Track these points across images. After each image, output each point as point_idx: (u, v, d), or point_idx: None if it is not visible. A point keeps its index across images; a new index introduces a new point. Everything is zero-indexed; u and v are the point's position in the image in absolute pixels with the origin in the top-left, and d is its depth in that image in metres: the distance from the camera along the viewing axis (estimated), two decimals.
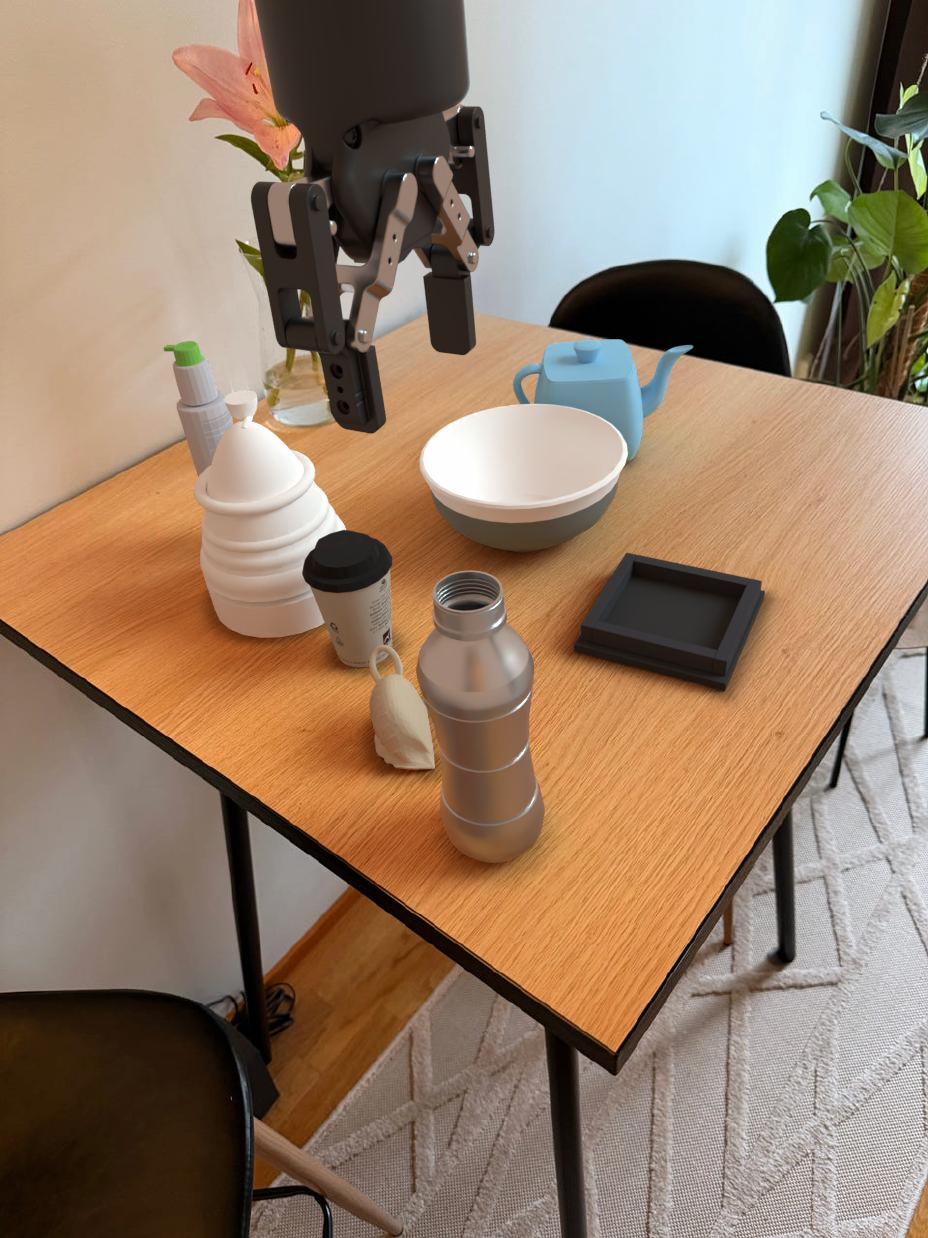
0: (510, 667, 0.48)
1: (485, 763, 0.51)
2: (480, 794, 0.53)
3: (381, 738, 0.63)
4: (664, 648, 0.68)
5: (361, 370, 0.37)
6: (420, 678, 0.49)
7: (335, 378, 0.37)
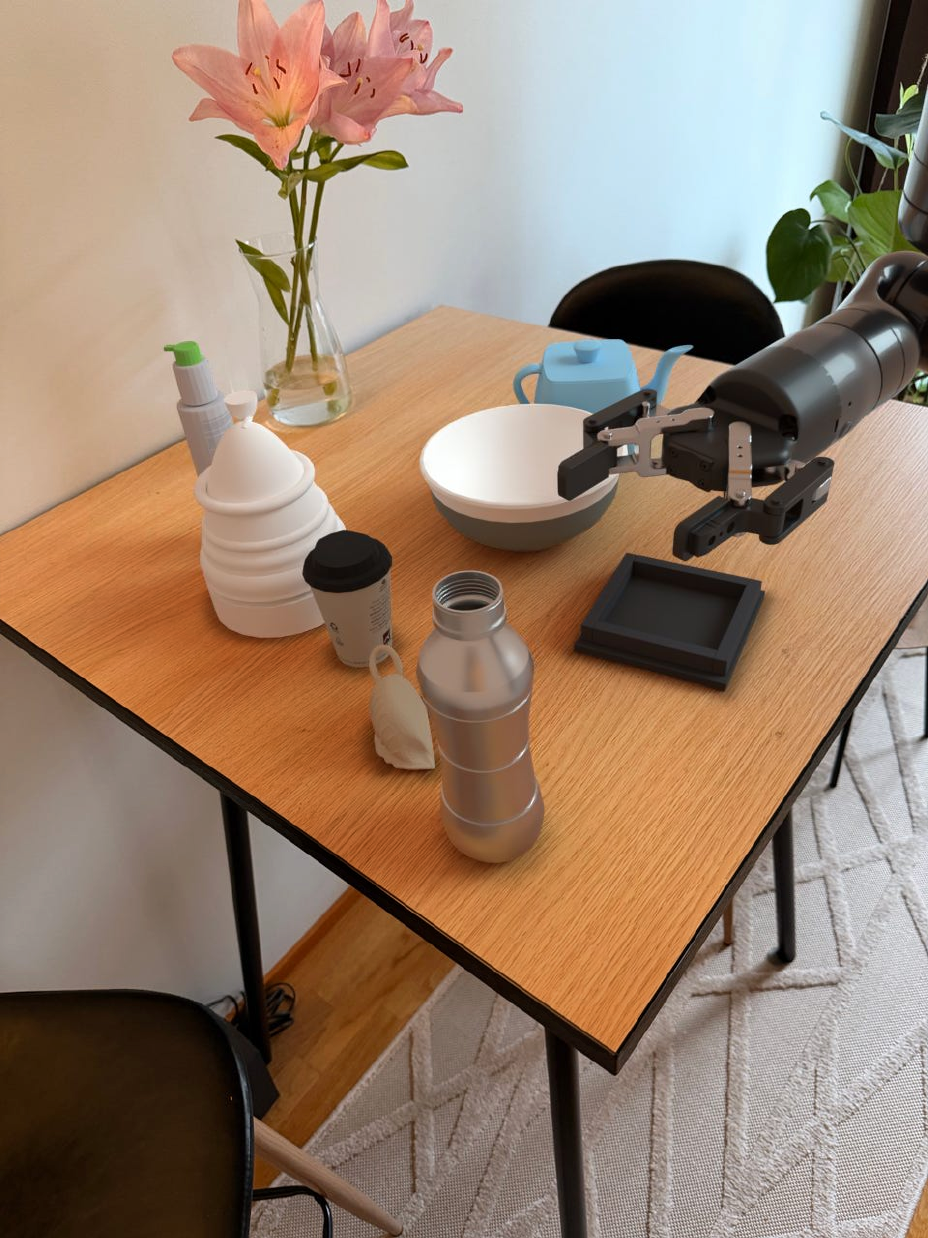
0: (510, 667, 0.48)
1: (485, 763, 0.51)
2: (480, 794, 0.53)
3: (381, 738, 0.63)
4: (664, 648, 0.68)
5: None
6: (420, 678, 0.49)
7: None
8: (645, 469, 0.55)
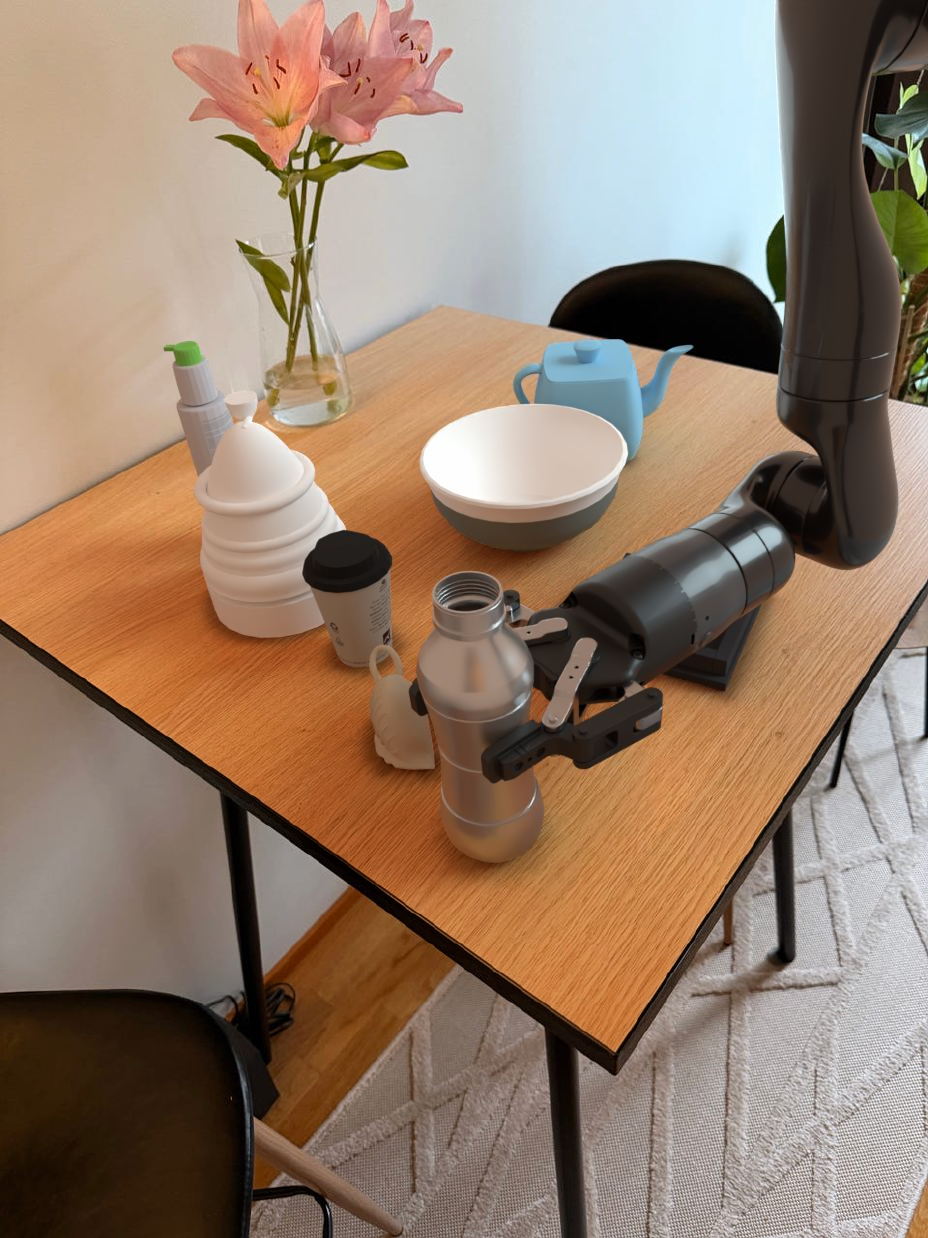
0: (510, 667, 0.48)
1: None
2: (480, 794, 0.53)
3: (381, 738, 0.63)
4: None
5: None
6: (420, 678, 0.49)
7: None
8: None
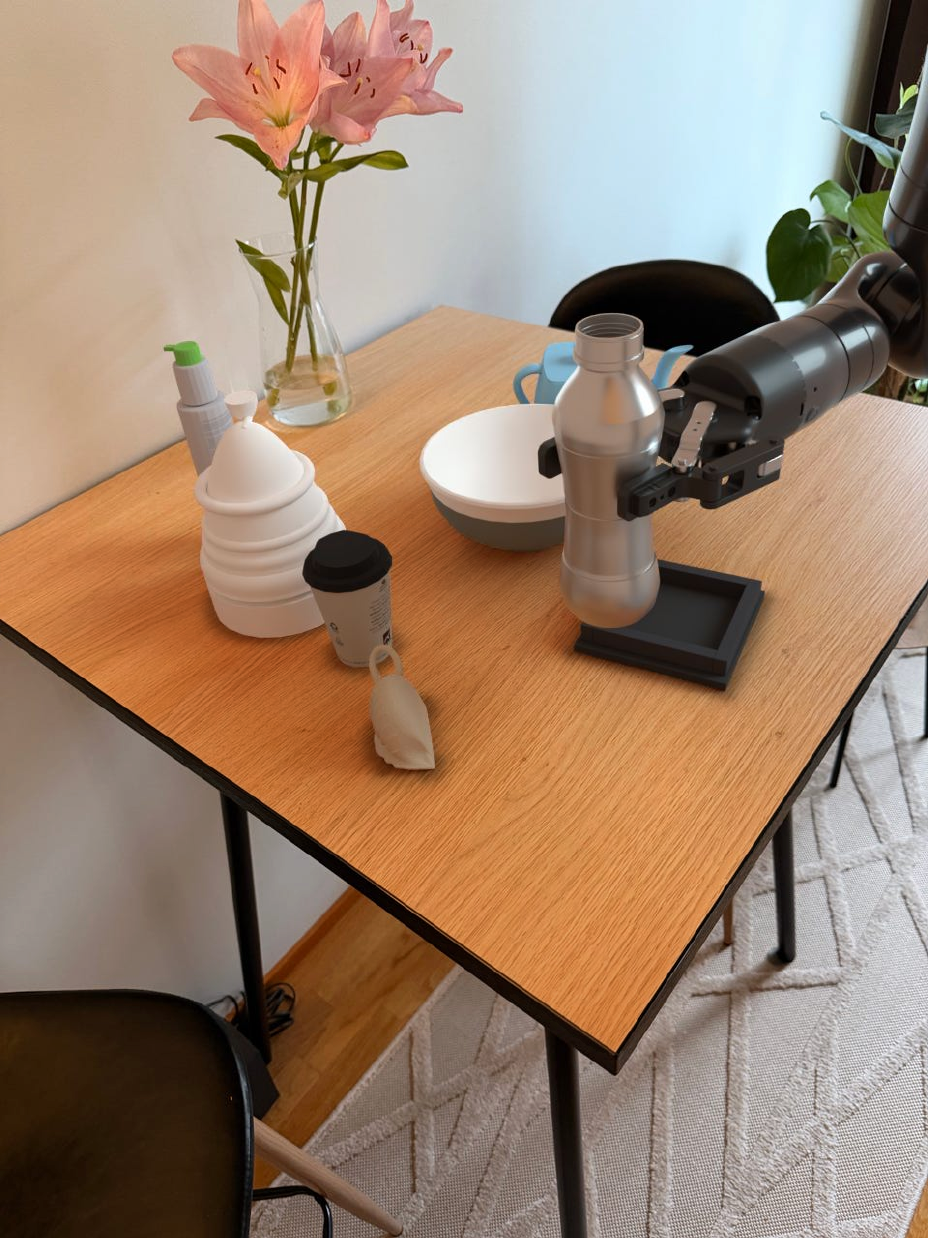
0: (647, 402, 0.51)
1: (616, 509, 0.54)
2: (607, 546, 0.56)
3: (381, 738, 0.63)
4: (664, 648, 0.68)
5: None
6: (558, 421, 0.52)
7: None
8: None
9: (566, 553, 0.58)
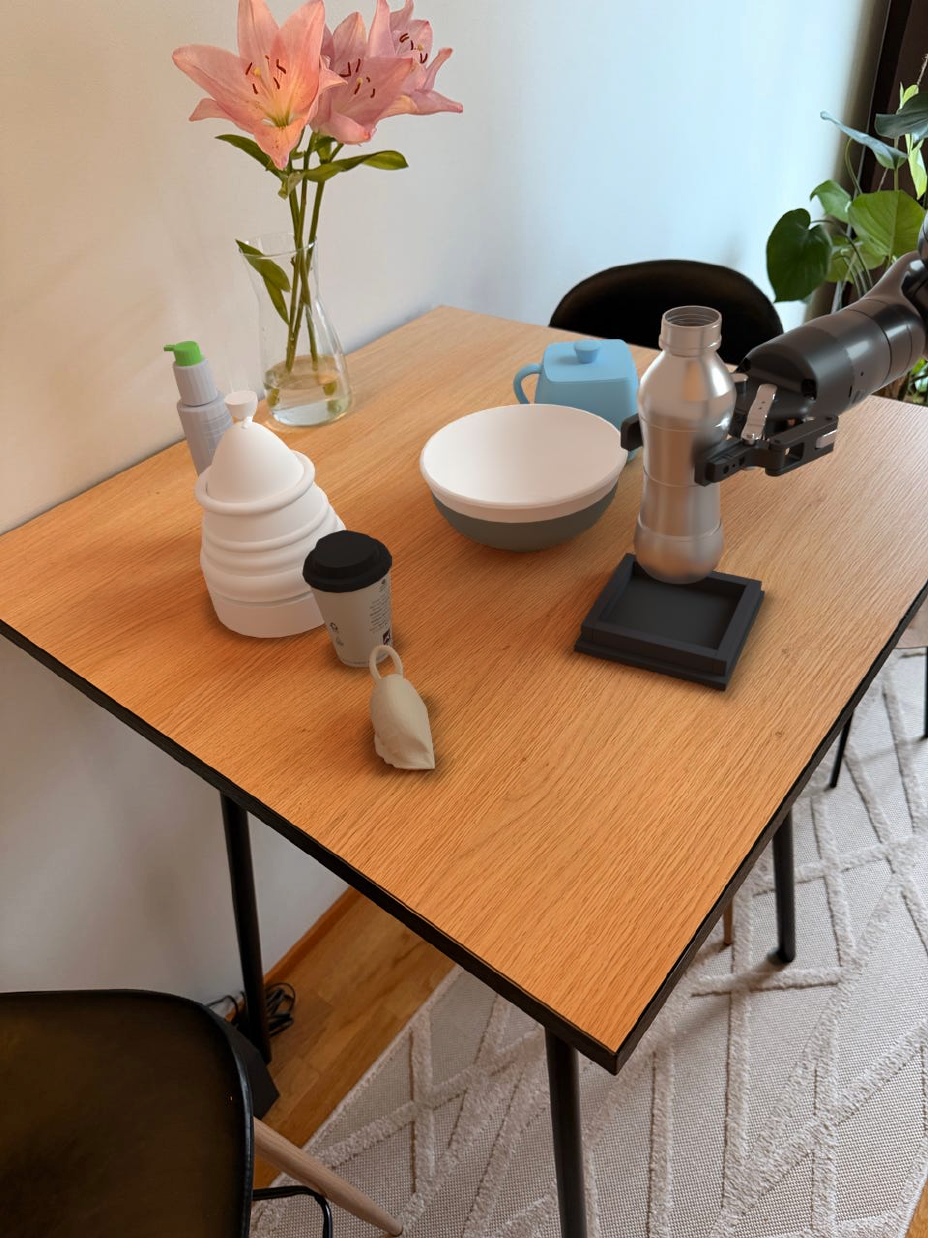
0: (723, 383, 0.59)
1: (691, 476, 0.62)
2: (682, 510, 0.64)
3: (381, 738, 0.63)
4: (664, 648, 0.68)
5: None
6: (644, 399, 0.60)
7: None
8: None
9: (643, 517, 0.66)
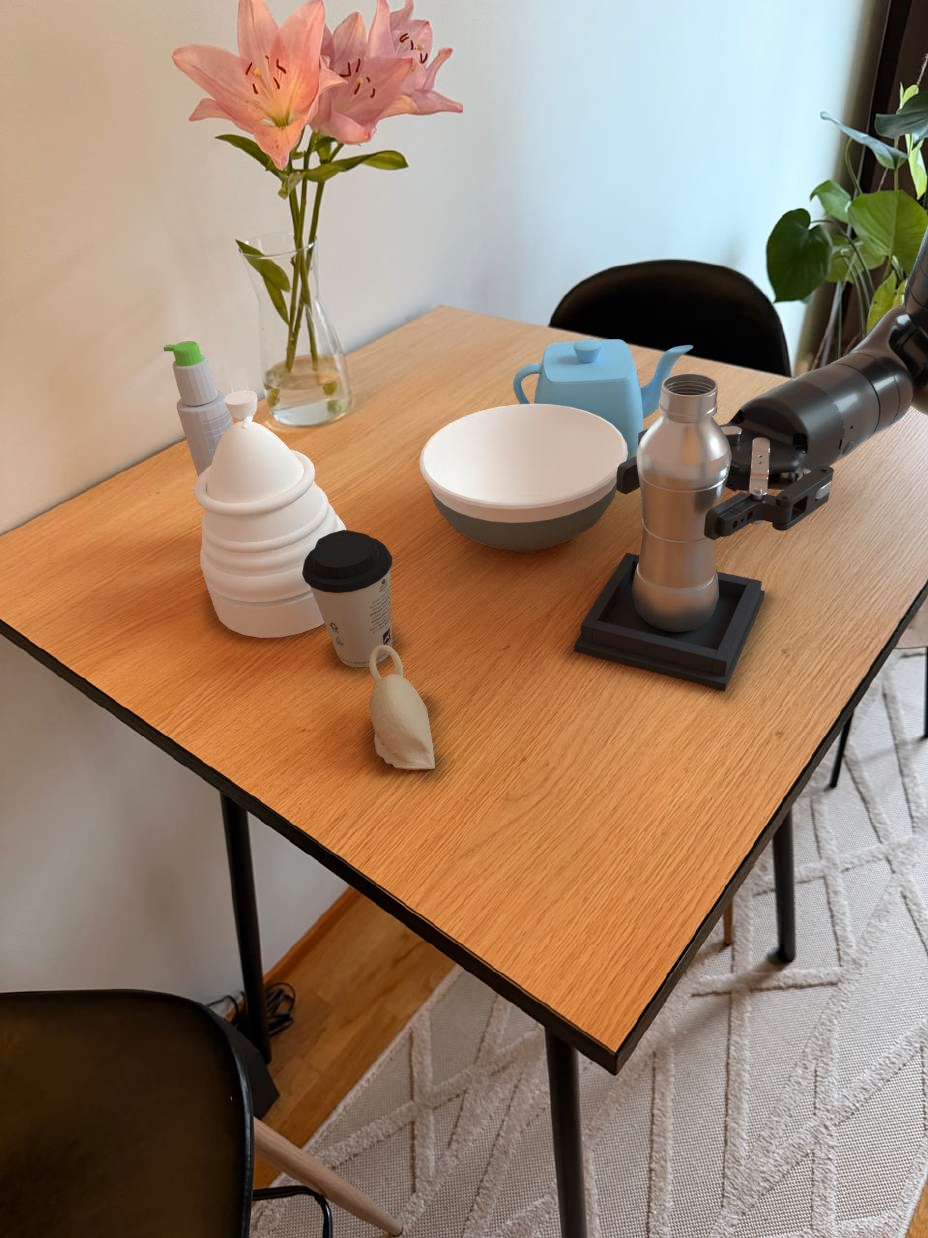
0: (718, 447, 0.62)
1: (688, 533, 0.65)
2: (679, 563, 0.67)
3: (381, 738, 0.63)
4: (664, 648, 0.68)
5: None
6: (644, 460, 0.63)
7: None
8: None
9: (641, 568, 0.69)
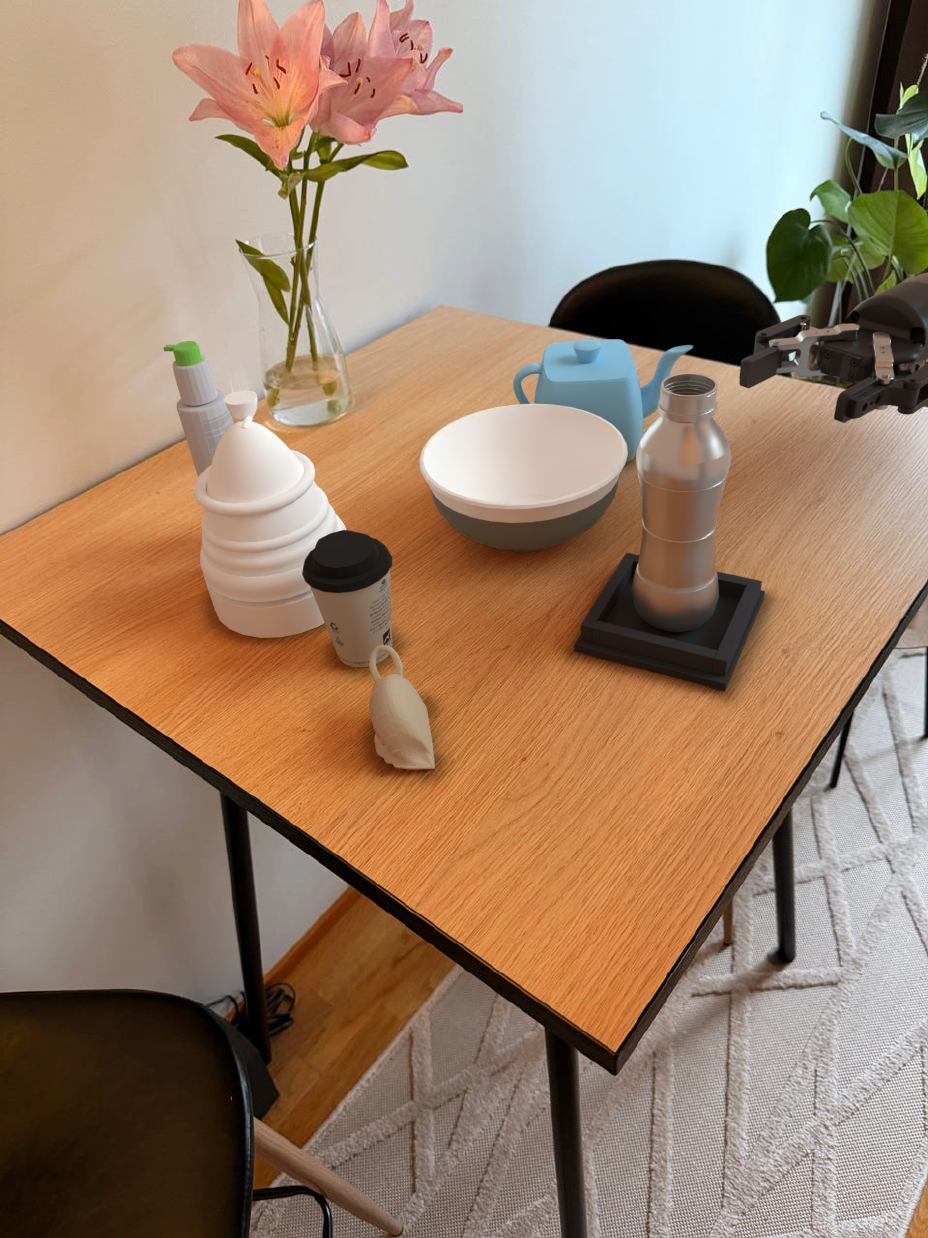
0: (718, 447, 0.62)
1: (688, 533, 0.65)
2: (679, 563, 0.67)
3: (381, 738, 0.63)
4: (664, 648, 0.68)
5: None
6: (643, 460, 0.63)
7: None
8: (803, 370, 0.73)
9: (641, 568, 0.69)
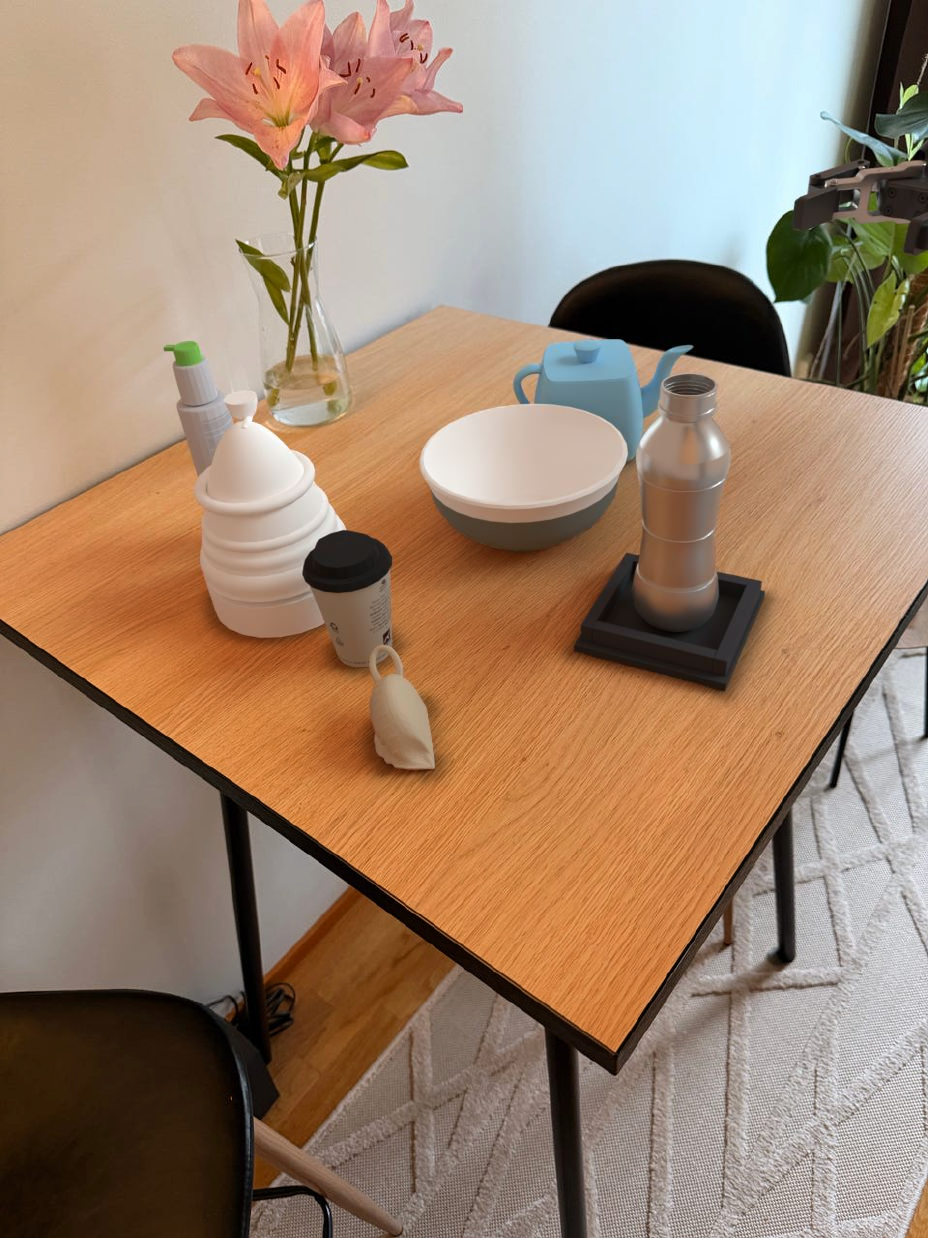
0: (718, 446, 0.62)
1: (688, 533, 0.65)
2: (679, 563, 0.67)
3: (381, 738, 0.63)
4: (664, 648, 0.68)
5: None
6: (643, 460, 0.63)
7: None
8: (862, 215, 0.66)
9: (641, 568, 0.69)
